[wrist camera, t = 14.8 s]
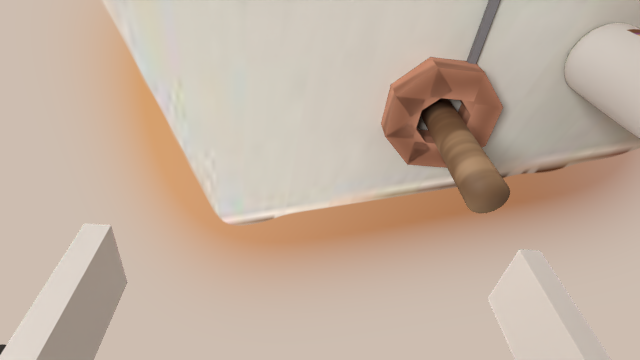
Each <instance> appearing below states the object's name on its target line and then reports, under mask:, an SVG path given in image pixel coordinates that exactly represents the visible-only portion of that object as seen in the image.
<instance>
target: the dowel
mask: <svg viewBox="0 0 640 360" xmlns="http://www.w3.org/2000/svg"><path fill="white" fill-rule="evenodd" d="M421 117H422V119H423V121H424V123H425V125H426V127H427V129H428V131H429V133H430V135H431V137H432V139H433V141H434V143H435V145H436V146H437V148H438V150H439V152H440V154H441V156H442V158H443V160H444V162H445V164H446V166H447V168H448V170H449V172H450V174H451V176H452V178H453V179H454V181H455V183H456V185H457V187H458V189H459V191H460V193H461V195H462V197H463V199H464V201H465V203H466V205H467V207H468V208H469V209H470V210H471V211H473V212H476V213H487V212H491V211H494V210H496V209H498V208H500V207H501V206H502V205H503V204H504V203H505V202H506V201H507V200H508V198H509V195H510V190H509V187H508V186H507V184H506V183H505V181H504V180H503V178H502V177H501V175H500V174H499V172H498V171H497V169H496V168H495V166H494V165H493V163H492V162H491V161H490V159H489V158H488V156H487V155H486V153H485V152H484V150H483V149H482V147H481V146H480V144H479V143H478V142H477V140H476V139H475V137H474V136H473V134H472V133H471V131H470V130H469V128H468V127H467V125H466V124H465V123H464V121H463V120H462V118H461V117H460V115H459V114H458V112H457V111H456V109H455V108H454V106H453V105H452V104H451V102H450V101H449V99H445V98H441V99H439V100H437V101H436V102H434V103H433V104H431V105H430V106H428V107H427V108H425V109H423V110H422V112H421Z"/></svg>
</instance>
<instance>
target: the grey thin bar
mask: <svg viewBox="0 0 640 360" xmlns="http://www.w3.org/2000/svg"><path fill="white" fill-rule="evenodd" d="M499 2H500V0H489V2H488V4H487V7H486V10H485V13H484V15H483V18H482V21H481V24H480V26H479V29H478V32H477V35H476V37H475V40H474V43H473V46H472V48H471V51H470V54H469V57H468V59H467V62H468V63H470V64H476V62H477V60H478V57H479V54H480V52H481V49H482V46H483V44H484V41H485V39H486V36H487V33H488V31H489V28H490V25H491V23H492V20H493V18H494V15H495V12H496V10H497V7H498V4H499Z"/></svg>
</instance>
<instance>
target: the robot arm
mask: <svg viewBox="0 0 640 360" xmlns="http://www.w3.org/2000/svg"><path fill="white" fill-rule="evenodd" d="M126 284H127V280H126V276H125V273H124V269H123V266H122V262H121V259H120V255H119V252H118V248H117V244H116V241H115V238H114V234H113V231H112V227H111V225H102V224H84V225H83V226H82V227H81V229H80V231H79V232H78V234H77V235H76V237H75V238H74V240H73V242H72V243H71V245H70V246H69V248H68V249H67V251H66V253H65V254H64V256H63V257H62V259H61V260H60V262H59V264H58V265H57V267H56V268H55V270H54V272H53V273H52V275H51V276H50V278H49V279H48V281H47V283H46V284H45V286H44V287H43V289H42V290H41V292H40V294H39V295H38V297H37V298H36V300H35V301H34V303H33V304H32V306H31V308H30V309H29V311H28V312H27V314H26V316H25V317H24V319H23V320H22V322H21V323H20V325H19V326H18V328H17V330H16V331H15V333H14V334H13V336H12V338H11V339H10V341H9V342H8V344H7V345H0V360H94V358H95V355H96V353H97V351H98V349H99V346H100V344H101V341H102V339H103V337H104V335H105V332H106V330H107V328H108V325H109V323H110V321H111V319H112V316H113V314H114V312H115V310H116V307H117V305H118V303H119V300H120V298H121V296H122V293H123V291H124V289H125V286H126ZM488 301H489V303H490V305H491V307H492V310H493V311H494V314H495V316H496V318H497V321H498V323H499V325H500V327H501V329H502V332H503V334H504V336H505V339H506V341H507V343H508V345H509V347H510V350H511V352H512V354H513V356H514V359H515V360H611V359H610V357H609V355H608V354H607V352H606V351H605V349H604V348H603V346H602V345H601V343H600V342H599V340H598V338H597V337H596V336H595V334H594V332H593V331H592V329H591V328H590V326H589V325H588V324H587V322H586V320H585V319H584V317H583V316H582V314H581V312H580V311H579V309H578V308H577V306H576V305H575V303H574V302H573V300H572V299H571V297H570V295H569V294H568V292H567V291H566V289H565V288H564V287H563V285H562V283H561V282H560V280H559V279H558V277H557V275H556V274H555V272H554V271H553V269H552V268H551V266H550V265H549V263H548V262H547V260H546V259H545V257H544V255H543V254H542V253H541V251H538V250H521V249H519V251H518V252H517V254H516V255H515V257H514V259H513V260H512V261H511V263H510V265H509V266H508V268H507V269H506V271H505V272H504V274H503V275H502V277H501V279H500V280H499V282H498V283H497V285H496V286H495V288H494V289H493V291H492V292H491V294H490V296H489V297H488Z"/></svg>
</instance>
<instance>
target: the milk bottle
mask: <svg viewBox="0 0 640 360" xmlns="http://www.w3.org/2000/svg"><path fill="white" fill-rule="evenodd" d="M564 75H565V79H566V82H567V84H568V85H569V86H570V87H571V88H572V89H573V90H574V91H576V92H577V93H578V94H579V95H581V96H582V97H583V98H585V99H586V100H587V101H589V102H590V103H591V104H593V105H594V106H595V107H597V108H598V109H599V110H600V111H602V112H603V113H604V114H606V115H607V116H609V117H610V118H611V119H613V120H614V121H615V122H617V123H618V124H619V125H621V126H622V127H623V128H625V129H626V130H628V131H629V132H631V133H632V134H634V135H635V136H637V137H638V138H640V29H639V28H637V27H635V26H632V25H629V24H626V23H611V24H607V25H603V26H601V27H598V28H596V29H594V30H592V31H590V32H589V33H588V34H586V35H585V36H583V37H582V38H581V39H580V40H579V41H578V42H577V43H576V44H575V46H574V47H573V48H572V50H571V51H570V53H569V55H568V57H567V59H566V62H565V67H564Z"/></svg>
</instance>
